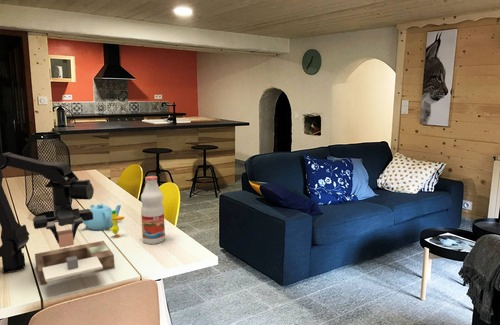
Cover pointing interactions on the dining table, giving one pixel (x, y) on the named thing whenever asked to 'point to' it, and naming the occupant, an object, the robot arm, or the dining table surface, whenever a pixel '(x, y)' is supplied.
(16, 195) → the dining table surface
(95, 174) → the dining table surface
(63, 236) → the block
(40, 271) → the brown shallow open box
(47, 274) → the cover
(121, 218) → the toy figure
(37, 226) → the robot arm
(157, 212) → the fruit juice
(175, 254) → the dining table surface
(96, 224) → the teapot
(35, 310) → the dining table surface
